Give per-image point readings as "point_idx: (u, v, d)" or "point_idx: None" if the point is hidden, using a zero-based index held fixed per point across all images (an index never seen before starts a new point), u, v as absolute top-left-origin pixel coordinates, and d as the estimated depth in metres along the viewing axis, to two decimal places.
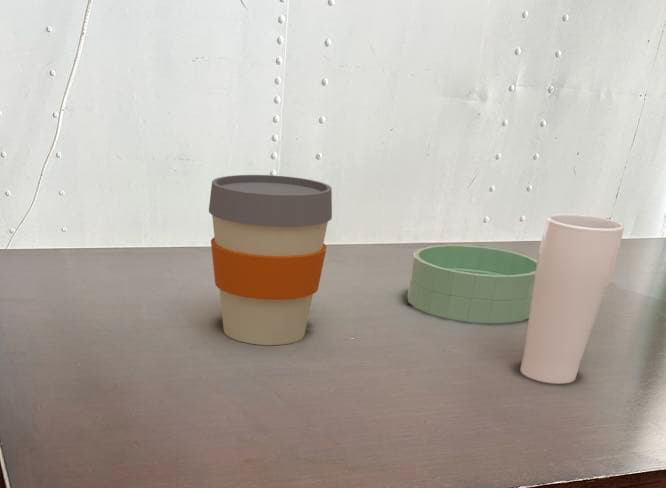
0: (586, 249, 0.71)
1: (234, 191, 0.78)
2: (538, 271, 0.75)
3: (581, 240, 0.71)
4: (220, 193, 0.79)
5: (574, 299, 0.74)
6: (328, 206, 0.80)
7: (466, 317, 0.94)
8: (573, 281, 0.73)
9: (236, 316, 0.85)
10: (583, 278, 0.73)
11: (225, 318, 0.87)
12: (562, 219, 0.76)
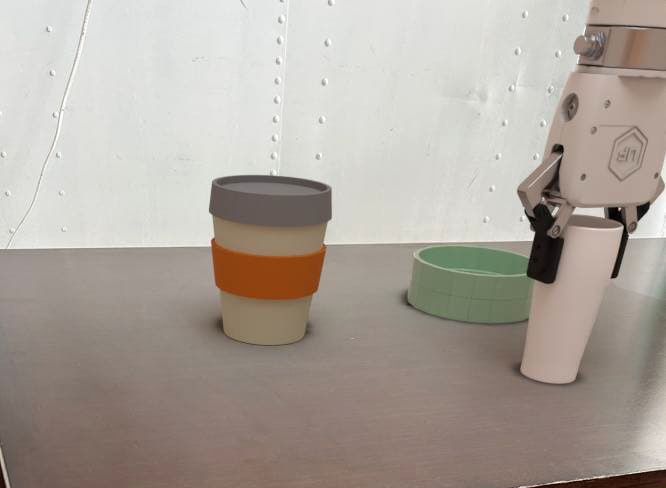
0: (586, 249, 0.71)
1: (234, 191, 0.78)
2: None
3: (580, 240, 0.71)
4: (220, 193, 0.79)
5: (574, 299, 0.74)
6: (328, 206, 0.80)
7: (466, 317, 0.94)
8: (573, 281, 0.73)
9: (236, 316, 0.85)
10: (583, 278, 0.73)
11: (225, 318, 0.87)
12: None
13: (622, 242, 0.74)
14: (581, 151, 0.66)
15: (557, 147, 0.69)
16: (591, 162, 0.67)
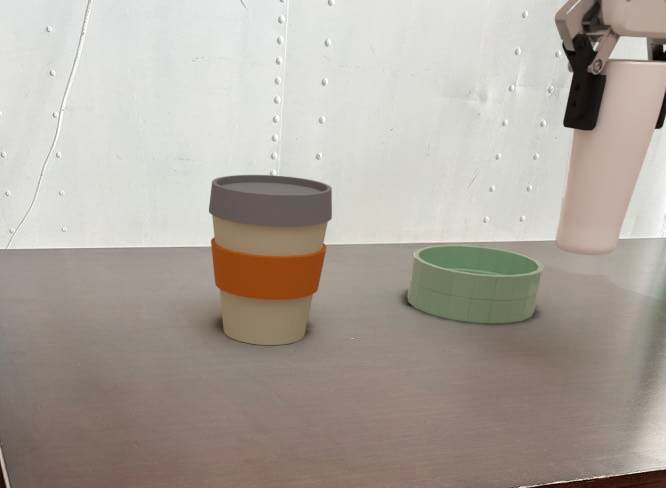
0: (630, 87, 0.65)
1: (234, 191, 0.78)
2: None
3: (624, 77, 0.65)
4: (220, 193, 0.79)
5: (616, 148, 0.67)
6: (328, 206, 0.80)
7: (466, 317, 0.94)
8: (616, 126, 0.66)
9: (236, 316, 0.85)
10: (627, 122, 0.66)
11: (225, 318, 0.87)
12: None
13: None
14: None
15: None
16: None
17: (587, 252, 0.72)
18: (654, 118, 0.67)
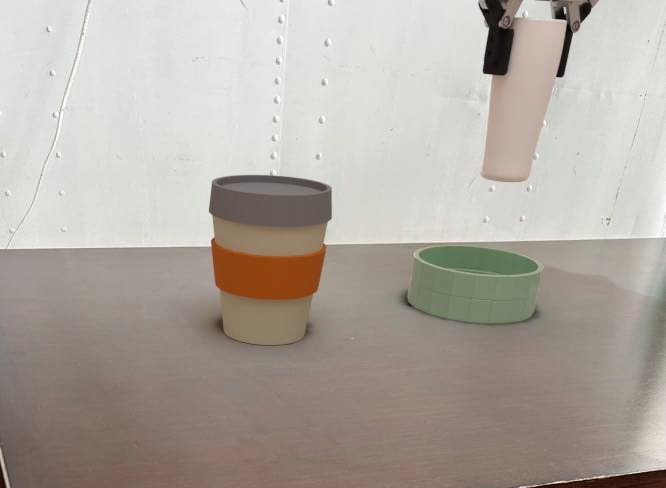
0: (533, 39, 0.80)
1: (234, 191, 0.78)
2: None
3: (528, 31, 0.80)
4: (220, 193, 0.79)
5: (524, 90, 0.83)
6: (328, 206, 0.80)
7: (466, 317, 0.94)
8: (523, 71, 0.82)
9: (236, 316, 0.85)
10: (531, 68, 0.82)
11: (225, 318, 0.87)
12: None
13: (567, 40, 0.83)
14: None
15: None
16: None
17: (504, 179, 0.88)
18: (554, 66, 0.82)
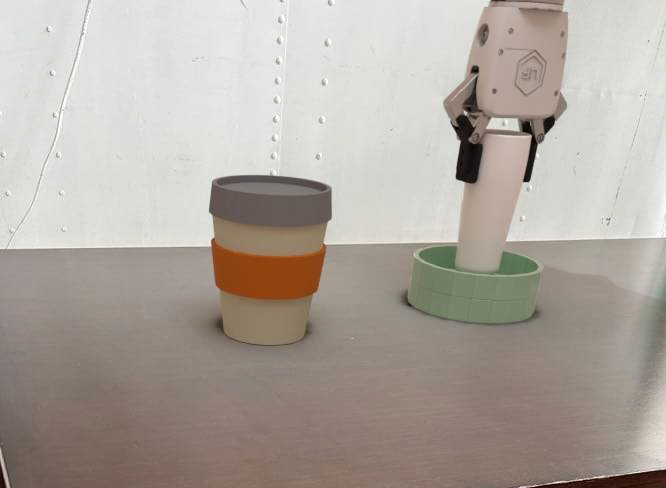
0: (500, 153, 0.88)
1: (234, 191, 0.78)
2: None
3: (496, 146, 0.88)
4: (220, 193, 0.79)
5: (493, 196, 0.91)
6: (328, 206, 0.80)
7: (466, 317, 0.94)
8: (491, 180, 0.90)
9: (236, 316, 0.85)
10: (499, 178, 0.90)
11: (225, 318, 0.87)
12: None
13: (532, 150, 0.91)
14: (491, 69, 0.84)
15: (475, 68, 0.86)
16: (500, 79, 0.84)
17: (476, 272, 0.96)
18: (520, 175, 0.90)
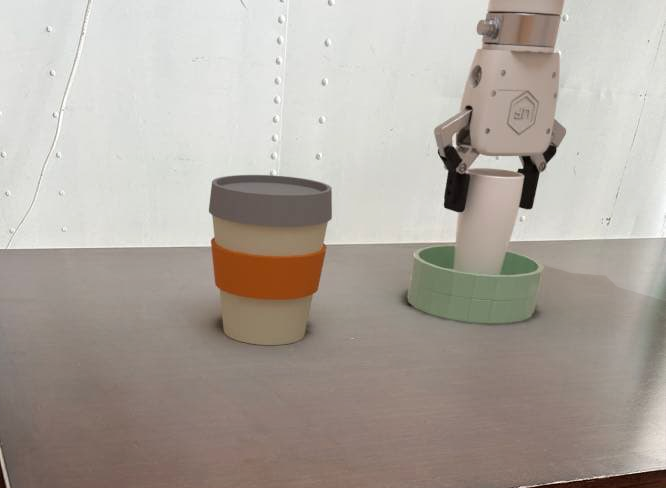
0: (493, 194, 0.91)
1: (234, 191, 0.78)
2: (459, 213, 0.95)
3: (489, 186, 0.90)
4: (220, 193, 0.79)
5: (486, 234, 0.93)
6: (328, 206, 0.80)
7: (466, 317, 0.94)
8: (484, 220, 0.92)
9: (236, 316, 0.85)
10: (492, 217, 0.92)
11: (225, 318, 0.87)
12: (478, 172, 0.95)
13: (534, 179, 0.93)
14: (484, 110, 0.86)
15: (469, 108, 0.88)
16: (493, 119, 0.86)
17: None
18: (513, 214, 0.93)
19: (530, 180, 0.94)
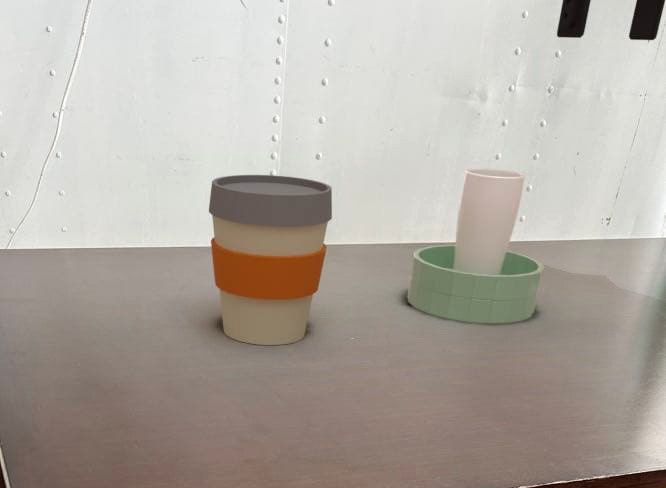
0: (493, 194, 0.91)
1: (234, 191, 0.78)
2: (459, 213, 0.95)
3: (489, 186, 0.90)
4: (220, 193, 0.79)
5: (486, 234, 0.93)
6: (328, 206, 0.80)
7: (466, 317, 0.94)
8: (484, 220, 0.92)
9: (236, 316, 0.85)
10: (492, 217, 0.92)
11: (225, 318, 0.87)
12: (478, 172, 0.95)
13: (660, 1, 0.82)
14: None
15: None
16: None
17: None
18: (513, 214, 0.93)
19: (655, 3, 0.82)
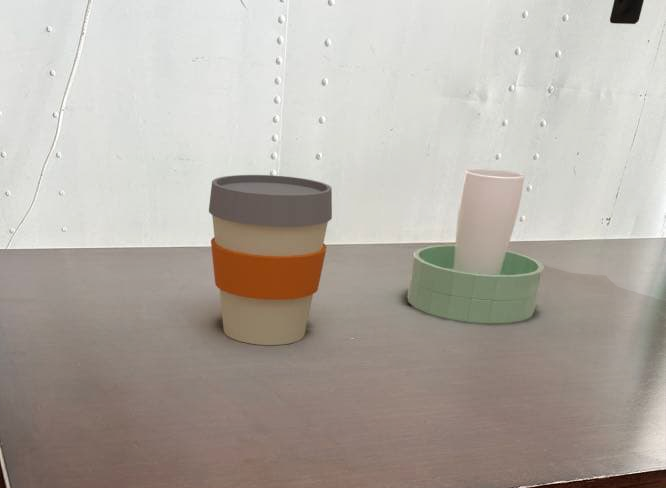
0: (493, 194, 0.91)
1: (234, 191, 0.78)
2: (459, 213, 0.95)
3: (489, 186, 0.90)
4: (220, 193, 0.79)
5: (486, 234, 0.93)
6: (328, 206, 0.80)
7: (466, 317, 0.94)
8: (484, 220, 0.92)
9: (236, 316, 0.85)
10: (492, 217, 0.92)
11: (225, 318, 0.87)
12: (478, 172, 0.95)
13: None
14: None
15: None
16: None
17: None
18: (513, 214, 0.93)
19: None
